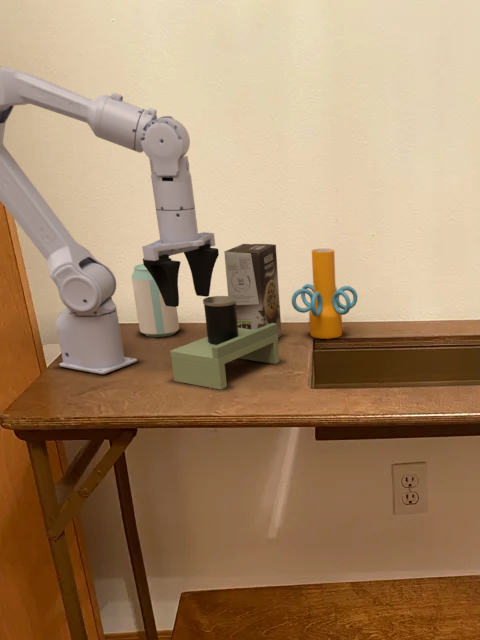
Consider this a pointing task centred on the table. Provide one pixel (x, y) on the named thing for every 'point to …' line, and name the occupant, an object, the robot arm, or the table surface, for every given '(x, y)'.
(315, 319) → the orange and blue post
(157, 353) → the table surface
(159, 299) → the can
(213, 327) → the canister
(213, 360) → the shelf
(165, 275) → the robot arm
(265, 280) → the coffee box
